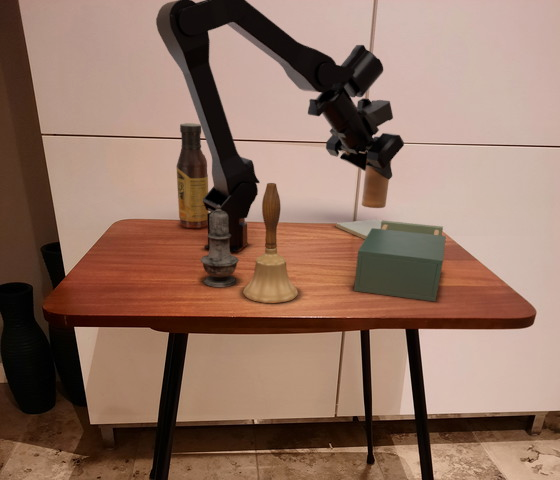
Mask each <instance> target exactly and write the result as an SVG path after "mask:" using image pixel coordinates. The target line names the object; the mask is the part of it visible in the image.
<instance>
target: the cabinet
mask: <svg viewBox="0 0 560 480" xmlns="http://www.w3.org/2000/svg"><path fill="white" fill-rule="evenodd" d="M446 238H447V236H446V235H442V236H441V235H431V234H422V233H412V232H403V231H393V230H384V229H375V228H372V229H371V231H370V232H369V234H368V236H367V237H366V239H364V240H363V242H362V243H361V245H360V247H359V249H358V251H357V260H356V268H355V276H354V287H353V291H354V292H361V293H366V294H367V293H368V294H374V295H382V296H390V297H397V298H404V299H412V300H420V301H426V302H427V301H428V302H433V303H434V302H435V303H436V301H437V296H438V290H439V284H440V279H441V273H442V269H443V264H444V256H445V247H446Z"/></svg>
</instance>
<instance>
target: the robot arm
mask: <svg viewBox="0 0 560 480" xmlns="http://www.w3.org/2000/svg"><path fill="white" fill-rule="evenodd" d="M155 24H156V29H157V32H158V35H159V36H160V38H161V40H162V42H163V43H164V45H165V48H166V50H167V51H168V53H169V54H170V56H171V57H172V59H173V60H174V61H175V63H176V65H177V66H178V67H179V70H180V71H181V72H182V75H183V78H184V80H185V84H186V86H187V89H188V92H189V95H190V98H191V101H192V103H193V106H194V110H195V113H196V115H197V118H198V121H199V124H200V125H201V131H202V132H203V135H204V138H205V141H206V144H207V147H208V151H209V152H210V155H211V177H212V183H213V186H212V188H210V190H208V194H207V195H206V196H205V197H204V198H203V203H204V206H205V209H206V210H207V211H209V213H208V214H207V226H206V227H207V235H208V234H209V233H210V225H209V215H210V213H211V212H213V211H215V210H217V205H218V204H219V205H220V207H221V208H220V209H221V210H222V211H224V212H226V213H227V214H228V218H229V234H231V237H230V238H229V249H230V253H233V254H237V253H239V252H240V251H241V250H243V249H244V248H245V247H247V246H248V244H249V243H248V223H247V222H246V219H247V218H248V217H249V216H248V215H249V213H250V210H251V207H252V205H253V203H254V202H255V200H256V198H257V196H258V194H259V189H258V184H261V183H260V180H259V178H257V175H256V171H255V165H254V162H253V160H252V159H249V158H246V157H243V156H241V155H240V154H239V152H238V149H237V147H236V144H235V140H234V138H233V134H232V131H231V128H230V125H229V121H228V119H227V115H226V112H225V109H224V105H223V103H222V99H221V95H220V93H219V90H218V86H217V84H216V81H215V77H214V74H213V70H212V67H211V64H210V50H211V49H210V46H211V45H210V44H211V42H210V35H209V31H213V30H215V29H218V28H221V27H224V26H226V25H228V27H229V28H231V29H232V30H234V31H235V32H236V33H238V34H239V35H241V36H242V37H243V38H245V39H246V40H247V41H248V42H250V43H251V44H252V45H253V46H255V47H256V48H258V49H259V50H261V51H262V52H263V53H265V54H266V55H267V56H269V57H270V58H271V59H273V60H274V61H275V62H277V63H278V64H279V65H280V66H281V68H282V69H283V70H284V72H285V74H286V76H287V77H288V78H289V79H290V80H291V82H292V83H293V84H294V85H295V86H296V87H297V88H298V89H299V90H301V91H303V92H311V93H319V94H318V95H317V96H316V98H310V99H309V105H308V109H307V115H308V116H313V117H321V115H322V116H323V117H324V119H325V120H326V122H327V123H328V125H329V126H330V127H331V128H330V130H329V132H330V134H331V136H330V137H329V138H328V139H327V140H326V143H325V150H326V151H327V153H328V154H329V155H330V156H331V157H335V158H337V157H339V159H340V160H341V161H345V162H346V163H348V164H350V165H352V166H354V167H355V168H358V169H360V170H361V171H364V172H365V169H366V166H368V167H369V168H371V169H372V170H374V171H376V172H377V173H379V174H380V175H382V176H383V177H385V178H386V179H388V180H389V181H390V180H391V179H392V177H393V172H392V171H393V170H392V164H391V165H390V161H391V162H392V160H393V159H394V158H395V156H396V155H397V154H398V153H399V151H401V150H402V148H403V147H404V146H405V142H404V140H403V138H402V137H401V135H400V134H396V133H390V132H382V134H381V135H379V136H380V137H379V138H378V139H376V138H374V136H376V135H377V133H378V132H380V129H379V128H378V127H380V126H381V125H383V124H385V123H386V122H390V121H392V120H393V119H394V115H393V109H392V106H391V101H390V100H384V99H377V100H376V99H375V100H373V99H372V100H370V98H366V97H364V96H365V94H366V93H367V92H368V91H369V90H370V88H372V86H374V84H375V82H376V81H377V80H378V79H379V78H380V77H381V75H382V74H384V66H383V63H382V60H380V58H378V57H377V56H376V55H375V54H374V53H373V52H371V51H370V50H368V49H367V48H366V47H365V45H364V44H356V45H355V46H354V47H353V49H352V50H351V52H350V53H349V55H348V56H347V58H345V60H344V61H343V62H342V63H341V64H340V65H339V64H337V63H336V60H334V58H333V57H331V56H329V55H328V54H326V53H324V52H322V51H320V50H318V49H316V48H313V47H310V46H308V45H305V44H302V43H301V42H299V41H297V40H296V39H295V38H293V37H292V36H291V35H290V34H289V33H287V32H286V31H285V30H283V29H282V28H281V27H279V26H278V25H277V24H276V23H274V22H273V21H272V20H271V19H269V18H268V17H267V16H266V15H265V14H263V12H261V11H260V10H259V9H257V8H256V7H255V6H253V5H252V4H251V3H250V2H248V1H247V0H201V1H198V2H195V1H194V0H173V1H169V2H166V3H165V4H163V5H162V6H161V7H160V9H158V13H157V16H156V19H155ZM356 97H357V98H360V99H359V100H357V105H356V104H355V102H354V101H353V99H352V98H356ZM367 151H368V152H367ZM340 154H341V155H340ZM366 160H368V163H367V164H366ZM203 249H204V250H208V251H209V249H210V242H209V237H208V236H207V244H206V245H204V248H203Z"/></svg>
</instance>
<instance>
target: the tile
mask: <svg viewBox="0 0 560 480" xmlns="http://www.w3.org/2000/svg"><path fill="white" fill-rule="evenodd" d="M381 222H382V220H381V219H377V218H373V219H365V220H354V221H346V222H337V223H336V224H335V227H336V228H338V229H340V230H342V231H345V232H347V233H349V234H351V235H354V236H356V237H358V238H361V239H363V240H365V239H366V237H367V236H368V234H369V232H370V231H371V229H372V228H375V229H381Z"/></svg>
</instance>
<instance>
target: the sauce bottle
mask: <svg viewBox="0 0 560 480" xmlns="http://www.w3.org/2000/svg"><path fill="white" fill-rule="evenodd" d="M179 132H180V135H181V137H180V138H181V145H180V146H181V149H180V152H179V156H178V159H177V164H176V183H177V202H178V204H177V205H178V218H179V224H180V225H181V227H183V228H185V229H204V228H206V227H208V226H207V214H208V213H210V211H207V210H206V209H205V206H204V203H203V198H204V197H205V196H206V195H207V194H208V192H209V175H208V174H209V173H208V160H207V157H206V155H205V154H204V153H203V150H202V149H201V148H202V143H201V142H202V140H201V135H202V127H201V124H200V123H193V122H191V123H190V122H186V123H181V124H180V125H179Z"/></svg>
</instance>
